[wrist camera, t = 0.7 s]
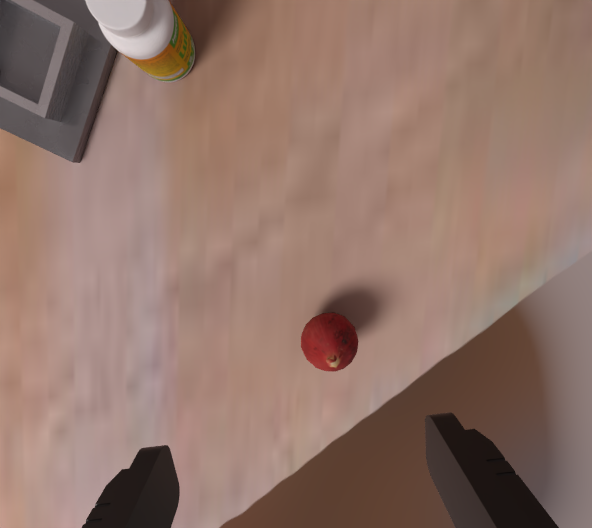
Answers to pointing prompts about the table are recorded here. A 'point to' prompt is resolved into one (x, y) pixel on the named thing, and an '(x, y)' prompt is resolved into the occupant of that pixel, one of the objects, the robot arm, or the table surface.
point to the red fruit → (329, 342)
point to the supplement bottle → (147, 35)
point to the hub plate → (52, 73)
